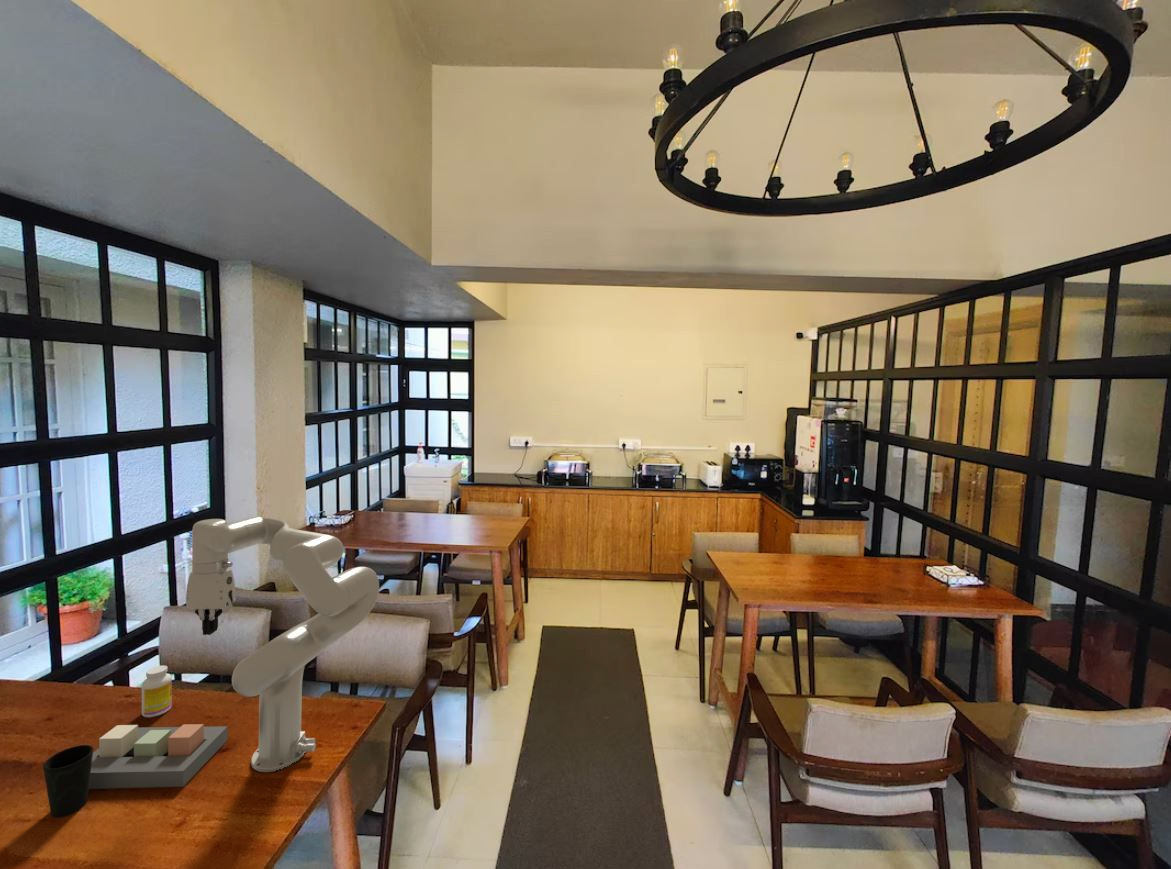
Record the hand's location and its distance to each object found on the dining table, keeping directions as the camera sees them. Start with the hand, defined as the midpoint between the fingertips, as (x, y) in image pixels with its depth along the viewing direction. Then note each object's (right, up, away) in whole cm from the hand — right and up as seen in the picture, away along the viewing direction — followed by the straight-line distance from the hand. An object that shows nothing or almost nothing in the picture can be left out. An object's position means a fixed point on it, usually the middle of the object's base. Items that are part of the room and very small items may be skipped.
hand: (210, 632), depth 127 cm
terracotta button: (-2, -28, -6) cm, 28 cm away
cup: (-16, -32, -20) cm, 41 cm away
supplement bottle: (-27, -29, +13) cm, 42 cm away
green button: (-10, -29, -6) cm, 31 cm away
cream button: (-18, -27, -7) cm, 33 cm away
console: (-10, -31, -6) cm, 33 cm away
